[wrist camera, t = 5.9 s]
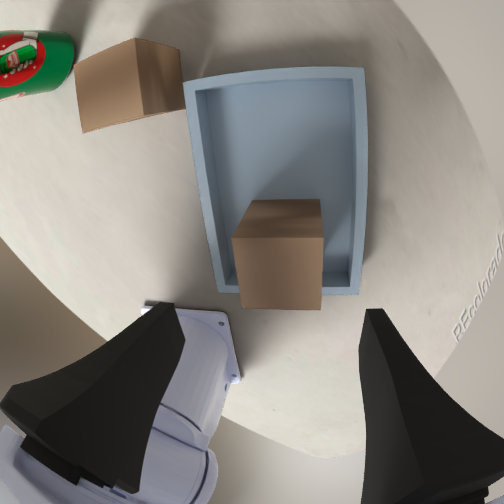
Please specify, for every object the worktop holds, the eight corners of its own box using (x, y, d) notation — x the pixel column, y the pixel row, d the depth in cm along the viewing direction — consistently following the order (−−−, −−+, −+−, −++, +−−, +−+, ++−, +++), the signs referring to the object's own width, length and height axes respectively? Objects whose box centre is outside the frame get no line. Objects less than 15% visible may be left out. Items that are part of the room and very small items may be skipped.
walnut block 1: (186, 108, 16) (143, 115, 11) (132, 120, 16) (82, 133, 12) (179, 49, 14) (134, 37, 9) (124, 65, 15) (73, 64, 10)
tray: (354, 274, 19) (358, 294, 17) (226, 273, 21) (218, 292, 19) (356, 71, 13) (363, 67, 11) (198, 83, 15) (182, 82, 13)
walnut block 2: (319, 199, 16) (323, 237, 12) (319, 258, 18) (320, 310, 14) (251, 199, 17) (231, 237, 13) (257, 258, 19) (241, 307, 15)
